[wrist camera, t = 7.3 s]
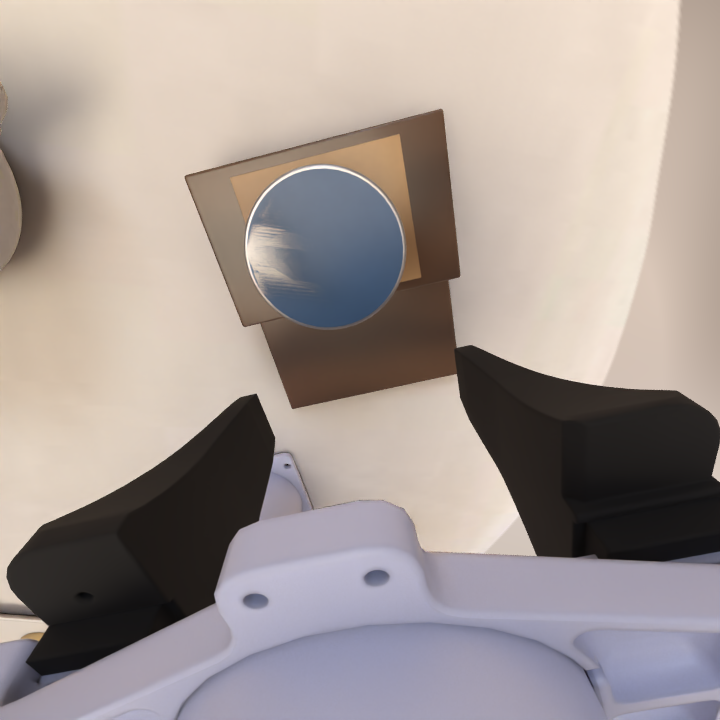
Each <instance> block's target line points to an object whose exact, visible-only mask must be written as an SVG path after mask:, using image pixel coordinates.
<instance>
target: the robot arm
mask: <svg viewBox="0 0 720 720" xmlns="http://www.w3.org/2000/svg"><path fill="white" fill-rule="evenodd" d="M454 354H455V361H456V369H457V376H458V384H459V391H460V398H461V401H462V403H463V406H464V408H465V410H466V413H467V415H468V418H469V420H470V422H471V423H472V425H473V427H474V429H475V430H476V432H477V434H478V435H479V437H480V439H481V440H482V442H483V444H484V445H485V447H486V449H487V450H488V452H489V454H490V455H491V457H492V459H493V461H494V462H495V464H496V466H497V467H498V469H499V471H500V473H501V475H502V477H503V479H504V481H505V483H506V485H507V487H508V490H509V492H510V494H511V496H512V499H513V501H514V503H515V505H516V508H517V510H518V512H519V515H520V517H521V519H522V521H523V524H524V526H525V528H526V531H527V533H528V535H529V538H530V541H531V543H532V545H533V548H534V550H535V553H536V555H537V556H519V555H497V554H475V553H452V552H430V551H424V550H423V549H422V548H421V546H420V544H419V541H418V538H417V534H416V530H415V525H414V523H413V521H412V520H411V518H410V517H409V516H408V514H407V513H406V511H405V510H404V509H403V508H401V507H398V506H396V505H394V504H391V503H389V502H387V501H384V500H359V501H354V502H349V503H344V504H339V505H334V506H329V507H324V508H320V509H315V510H313V508H312V505H311V503H310V500H309V498H308V495H307V493H306V490H305V487H304V485H303V482H302V480H301V477H300V475H299V472H298V470H297V467H296V465H295V462H294V460H293V457H292V456H291V455H290V454H289V453H280V454H276V455H274V448H275V436H274V434H273V432H272V429H271V427H270V425H269V422H268V420H267V417H266V415H265V413H264V410H263V408H262V406H261V403H260V401H259V398H258V396H257V394H253V395H249V396H244V397H240V398H239V399H237V400H236V401H235V402H233V403H232V404H231V405H230V406H229V407H228V408H226V409H225V410H224V411H223V412H222V413H221V414H220V415H219V416H218V417H217V418H215V419H214V420H213V421H212V422H211V423H210V424H209V425H208V426H207V427H205V428H204V429H203V430H202V431H201V432H200V433H198V434H197V435H196V436H195V437H194V438H192V439H191V440H190V441H189V442H188V443H187V444H185V445H184V446H183V447H182V448H180V449H179V450H178V451H177V452H175V453H174V454H173V455H171V456H170V457H168V458H167V459H166V460H164V461H163V462H161V463H160V464H159V465H157V466H156V467H154V468H153V469H151V470H149V471H148V472H146V473H145V474H143V475H141V476H140V477H138V478H136V479H135V480H133V481H132V482H130V483H128V484H127V485H125V486H123V487H121V488H119V489H118V490H116V491H114V492H112V493H110V494H108V495H107V496H105V497H103V498H101V499H99V500H97V501H95V502H93V503H91V504H89V505H87V506H85V507H83V508H80V509H78V510H76V511H74V512H71V513H69V514H67V515H65V516H62V517H60V518H58V519H56V520H53V521H51V522H49V523H46V524H44V525H42V526H41V527H40V528H39V529H38V530H37V532H36V533H35V534H34V535H33V536H32V537H31V539H30V540H29V541H28V542H27V543H26V544H25V546H24V547H23V548H22V549H21V550H20V551H19V553H18V554H17V555H16V556H15V557H14V558H13V560H12V561H11V563H10V564H9V566H8V567H7V580H8V583H9V585H10V588H11V590H12V591H13V592H14V593H15V595H16V596H17V597H18V598H19V599H20V600H21V601H22V602H23V603H24V604H25V605H26V606H27V607H28V608H29V609H30V610H31V611H33V612H34V613H35V614H36V615H37V616H38V617H39V618H40V619H41V620H42V621H43V622H44V623H45V624H46V625H47V626H49V627H48V628H47V630H46V631H45V633H44V634H43V636H42V637H41V639H40V641H37V640H33V639H19V640H13V641H8V642H3V643H0V720H720V482H719V481H717V480H716V479H715V478H714V477H712V472H713V468H714V464H715V460H716V456H717V452H718V448H719V444H720V427H719V424H718V421H717V419H716V418H715V417H714V416H713V415H712V414H711V413H710V412H709V411H708V410H706V409H705V408H703V407H701V406H700V405H698V404H697V403H695V402H694V401H692V400H691V399H689V398H687V397H686V396H684V395H683V394H681V393H680V392H678V391H670V390H638V389H624V388H614V387H605V386H597V385H590V384H585V383H579V382H573V381H569V380H564V379H560V378H556V377H552V376H548V375H545V374H541V373H538V372H535V371H532V370H529V369H526V368H524V367H521V366H518V365H516V364H513V363H511V362H508V361H506V360H504V359H501V358H499V357H497V356H495V355H493V354H491V353H488V352H486V351H484V350H482V349H480V348H478V347H475V346H473V345H469V346H465V347H460V348H456V349H454ZM285 464H290V465H285Z"/></svg>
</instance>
